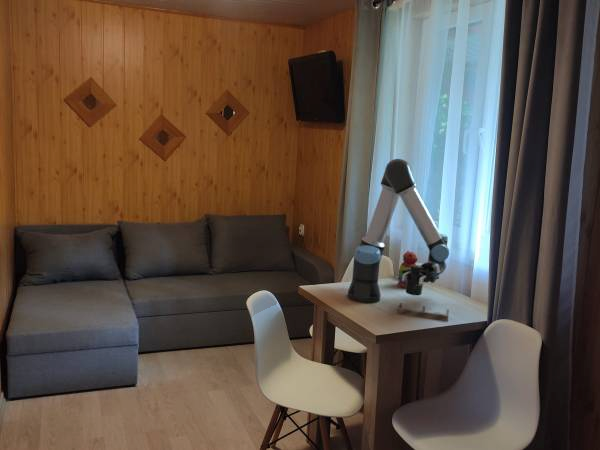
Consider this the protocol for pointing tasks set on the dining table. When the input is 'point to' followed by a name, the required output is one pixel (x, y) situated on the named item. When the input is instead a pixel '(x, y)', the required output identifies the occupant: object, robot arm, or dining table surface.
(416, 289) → the supplement bottle
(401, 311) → the notch rail
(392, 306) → the dining table surface
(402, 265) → the stacking bear
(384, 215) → the robot arm
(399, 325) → the dining table surface
